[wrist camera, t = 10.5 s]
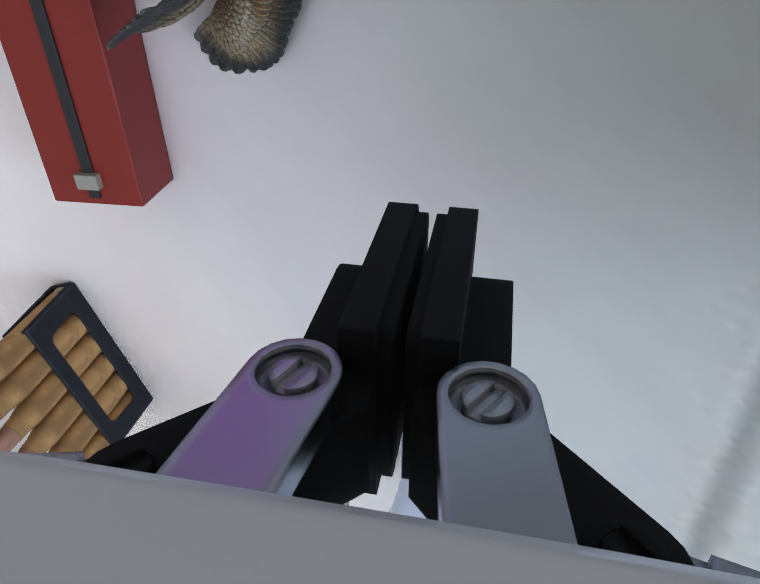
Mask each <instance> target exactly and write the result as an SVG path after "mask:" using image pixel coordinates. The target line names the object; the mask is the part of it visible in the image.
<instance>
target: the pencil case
mask: <svg viewBox="0 0 760 584" xmlns="http://www.w3.org/2000/svg"><path fill="white" fill-rule="evenodd" d="M135 15H137V14H136V10H135V5H134V1H133V0H0V41H1V43H2V46H3V49H4V52H5V55H6V58H7V61H8V64H9V67H10V69H11V72H12V75H13V78H14V81H15V84H16V87H17V90H18V93H19V95H20V98H21V101H22V104H23V107H24V110H25V113H26V116H27V119H28V121H29V124H30V127H31V130H32V133H33V136H34V139H35V142H36V144H37V147H38V150H39V153H40V156H41V159H42V162H43V165H44V168H45V170H46V173H47V176H48V179H49V182H50V185H51V188H52V191H53V194H54V196H55V199H56V200H57V201H70V202H85V203H100V204H115V205H130V206H144V205H145V204H146V203H148V202H149V201H150V200H151V199H152V198H153V197H154V196H155V195H156V194H157V193H158V192H160V191H161V190H162V189H163V188H164V187H165V186H166V185H167V184H168V183H169V182H170V181H172V180H173V177H172V172H171V168H170V163H169V159H168V154H167V150H166V145H165V141H164V136H163V132H162V127H161V123H160V118H159V114H158V109H157V105H156V100H155V96H154V91H153V87H152V82H151V78H150V73H149V69H148V64H147V59H146V55H145V50H144V46H143V41H142V37H141V33H137V34H134V35H131V36H129V37H127V38H126V39H125V40H124V41H122V42H120V43H118V45H116V46H115V47H114V48H113V49H109V50H108V49H107V43H108V41H109V40H110V39H111V38H112V37H113V36H114V35H115V34H116V33H118V31H119V30H120V29H122V28H123V27H124V26H126V25H127V23H129V22H131V21H132V18H133V17H134V16H135Z"/></svg>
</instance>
